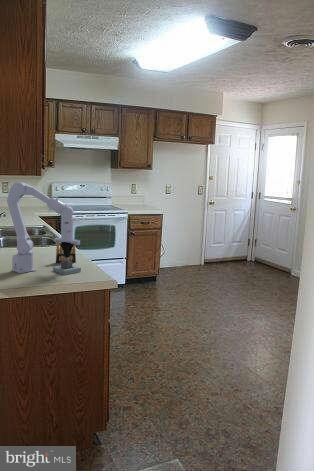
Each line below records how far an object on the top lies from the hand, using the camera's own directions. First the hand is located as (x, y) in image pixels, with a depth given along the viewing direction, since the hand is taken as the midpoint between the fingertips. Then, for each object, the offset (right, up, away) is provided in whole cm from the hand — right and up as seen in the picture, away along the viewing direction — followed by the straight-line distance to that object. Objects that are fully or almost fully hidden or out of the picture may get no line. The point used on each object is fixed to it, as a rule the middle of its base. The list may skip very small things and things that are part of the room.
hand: (67, 257), depth 208 cm
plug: (0, -7, +1) cm, 7 cm away
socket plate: (0, -7, +1) cm, 7 cm away
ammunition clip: (-5, -4, +20) cm, 21 cm away
